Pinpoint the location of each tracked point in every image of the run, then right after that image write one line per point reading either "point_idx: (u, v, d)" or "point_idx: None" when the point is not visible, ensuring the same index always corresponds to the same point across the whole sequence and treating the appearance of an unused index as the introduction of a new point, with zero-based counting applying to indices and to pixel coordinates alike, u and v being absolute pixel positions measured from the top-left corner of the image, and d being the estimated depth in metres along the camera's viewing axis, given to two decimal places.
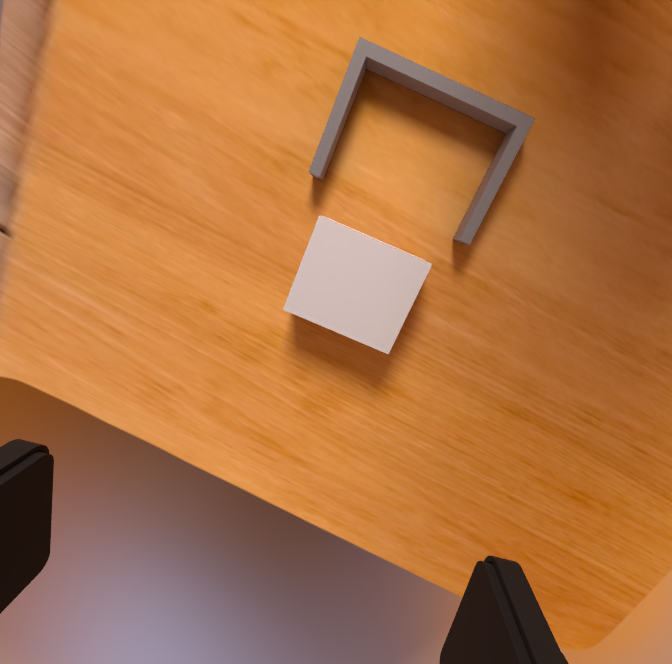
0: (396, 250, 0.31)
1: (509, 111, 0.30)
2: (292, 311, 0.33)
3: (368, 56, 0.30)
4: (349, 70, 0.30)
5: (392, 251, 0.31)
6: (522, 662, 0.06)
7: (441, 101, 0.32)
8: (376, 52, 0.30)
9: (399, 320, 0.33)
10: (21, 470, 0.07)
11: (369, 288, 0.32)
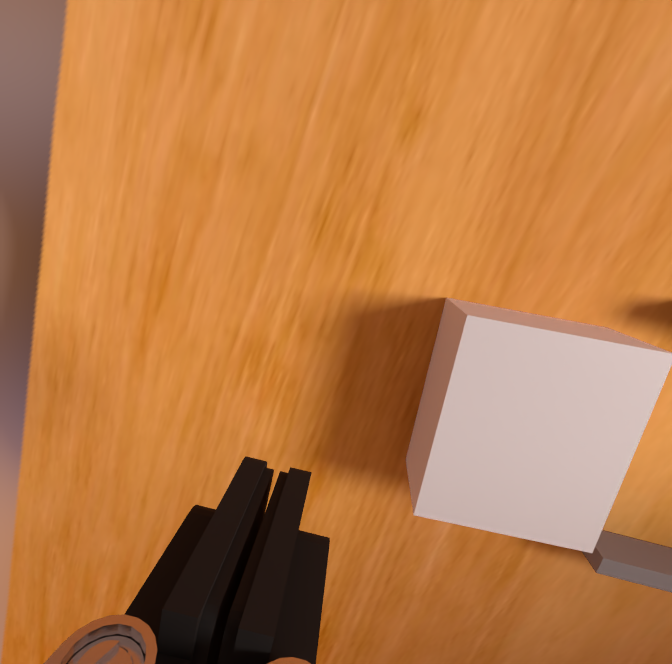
0: (613, 496, 0.17)
1: None
2: (466, 334, 0.16)
3: None
4: None
5: (610, 491, 0.17)
6: (262, 531, 0.07)
7: None
8: None
9: (481, 521, 0.18)
10: (267, 485, 0.08)
11: (534, 464, 0.17)
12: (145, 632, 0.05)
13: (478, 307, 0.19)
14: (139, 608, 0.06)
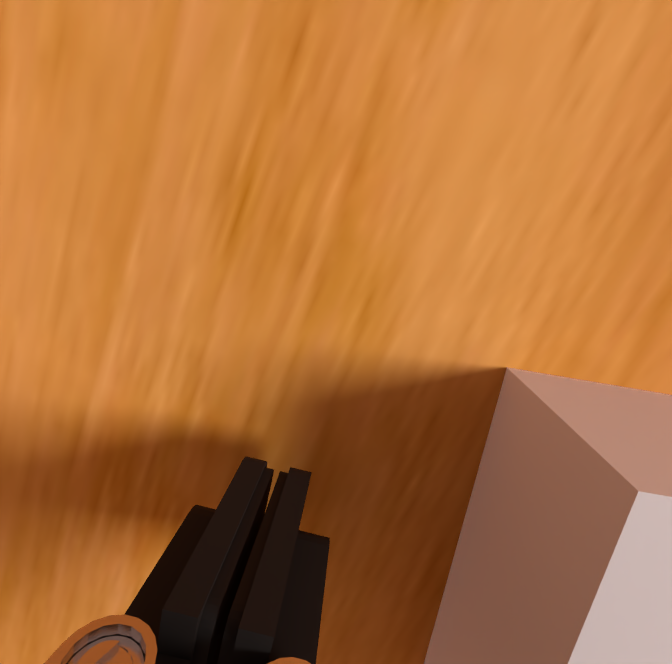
0: None
1: None
2: (629, 545, 0.05)
3: None
4: None
5: None
6: (262, 531, 0.07)
7: None
8: None
9: None
10: (267, 484, 0.08)
11: None
12: (145, 632, 0.05)
13: (597, 404, 0.08)
14: (139, 608, 0.06)
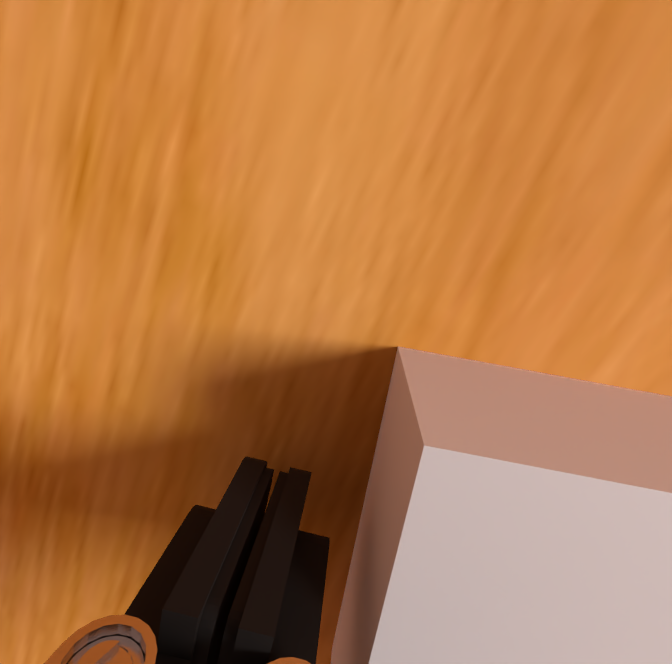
0: None
1: None
2: (423, 500, 0.05)
3: None
4: None
5: None
6: (262, 531, 0.07)
7: None
8: None
9: None
10: (267, 484, 0.08)
11: None
12: (145, 632, 0.05)
13: (464, 377, 0.08)
14: (139, 608, 0.06)
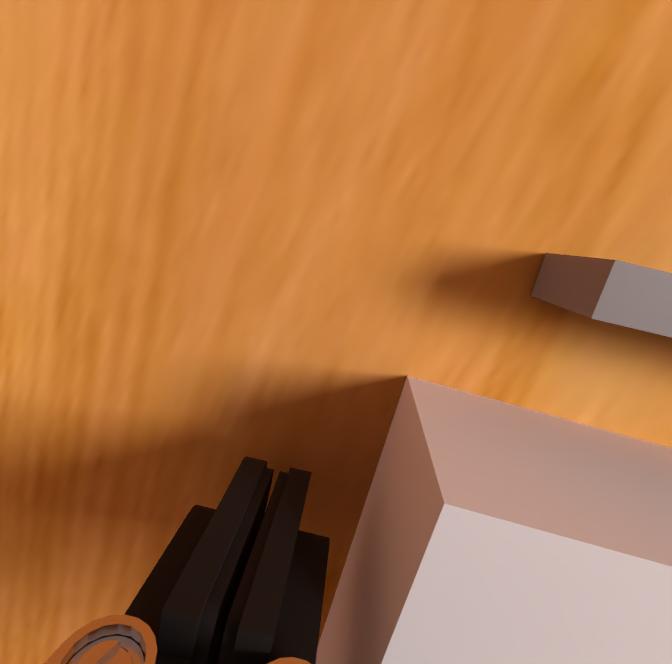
0: None
1: None
2: (437, 555, 0.05)
3: None
4: None
5: None
6: (262, 531, 0.07)
7: None
8: None
9: None
10: (267, 484, 0.08)
11: None
12: (145, 632, 0.05)
13: (475, 419, 0.08)
14: (139, 608, 0.06)
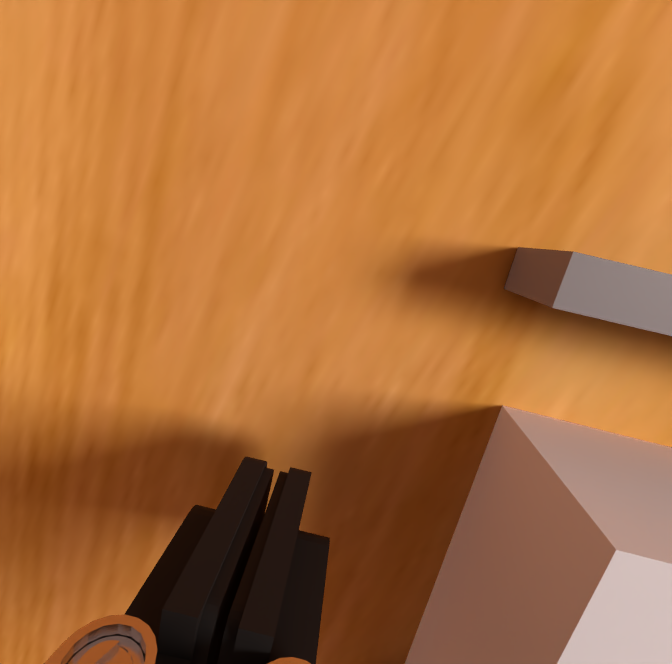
0: None
1: None
2: (604, 596, 0.06)
3: None
4: None
5: None
6: (262, 531, 0.07)
7: None
8: None
9: None
10: (267, 485, 0.08)
11: None
12: (145, 632, 0.05)
13: (585, 451, 0.08)
14: (139, 608, 0.06)
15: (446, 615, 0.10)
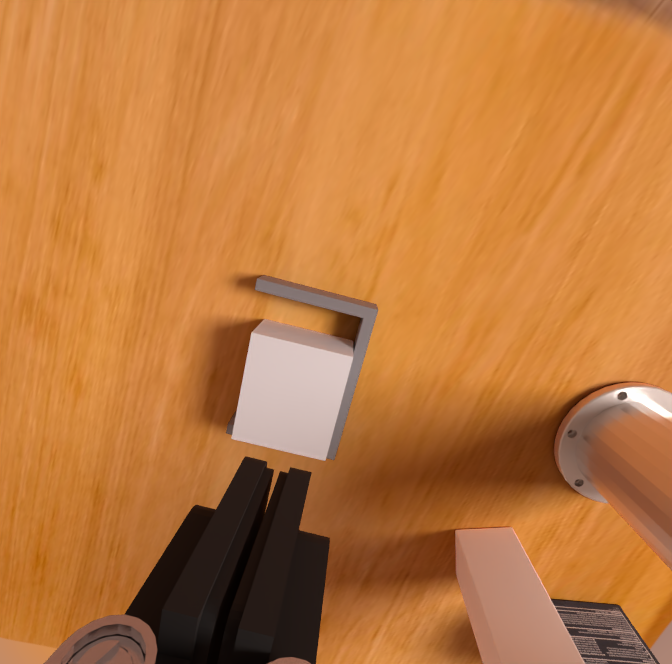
0: (332, 430, 0.33)
1: (336, 440, 0.36)
2: (251, 342, 0.31)
3: (363, 320, 0.33)
4: (350, 305, 0.33)
5: (330, 426, 0.33)
6: (262, 531, 0.07)
7: None
8: (367, 326, 0.33)
9: (267, 443, 0.34)
10: (267, 484, 0.08)
11: (291, 411, 0.33)
12: (145, 632, 0.05)
13: (274, 326, 0.34)
14: (139, 608, 0.06)
15: None
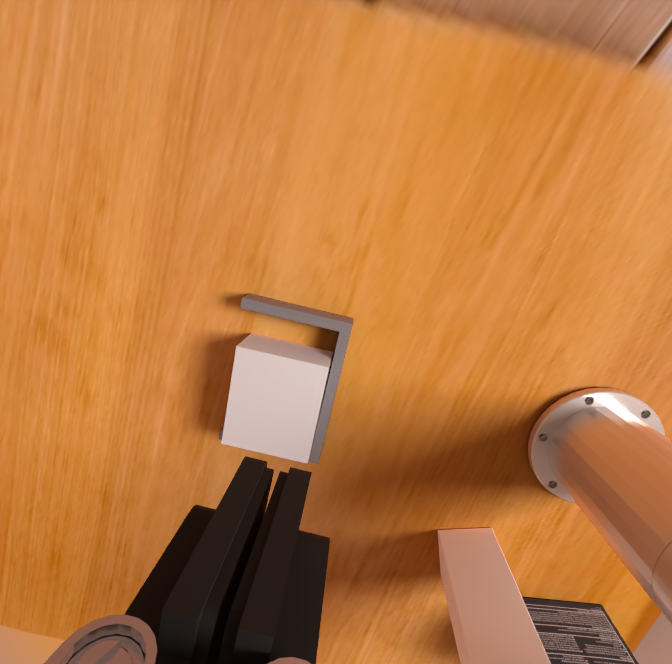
0: (312, 434, 0.36)
1: (319, 445, 0.39)
2: (236, 355, 0.35)
3: (339, 333, 0.36)
4: (327, 319, 0.35)
5: (310, 431, 0.36)
6: (262, 531, 0.07)
7: None
8: (343, 339, 0.36)
9: (253, 447, 0.37)
10: (267, 484, 0.08)
11: (275, 418, 0.36)
12: (145, 632, 0.05)
13: (259, 340, 0.37)
14: (139, 608, 0.06)
15: None
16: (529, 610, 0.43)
